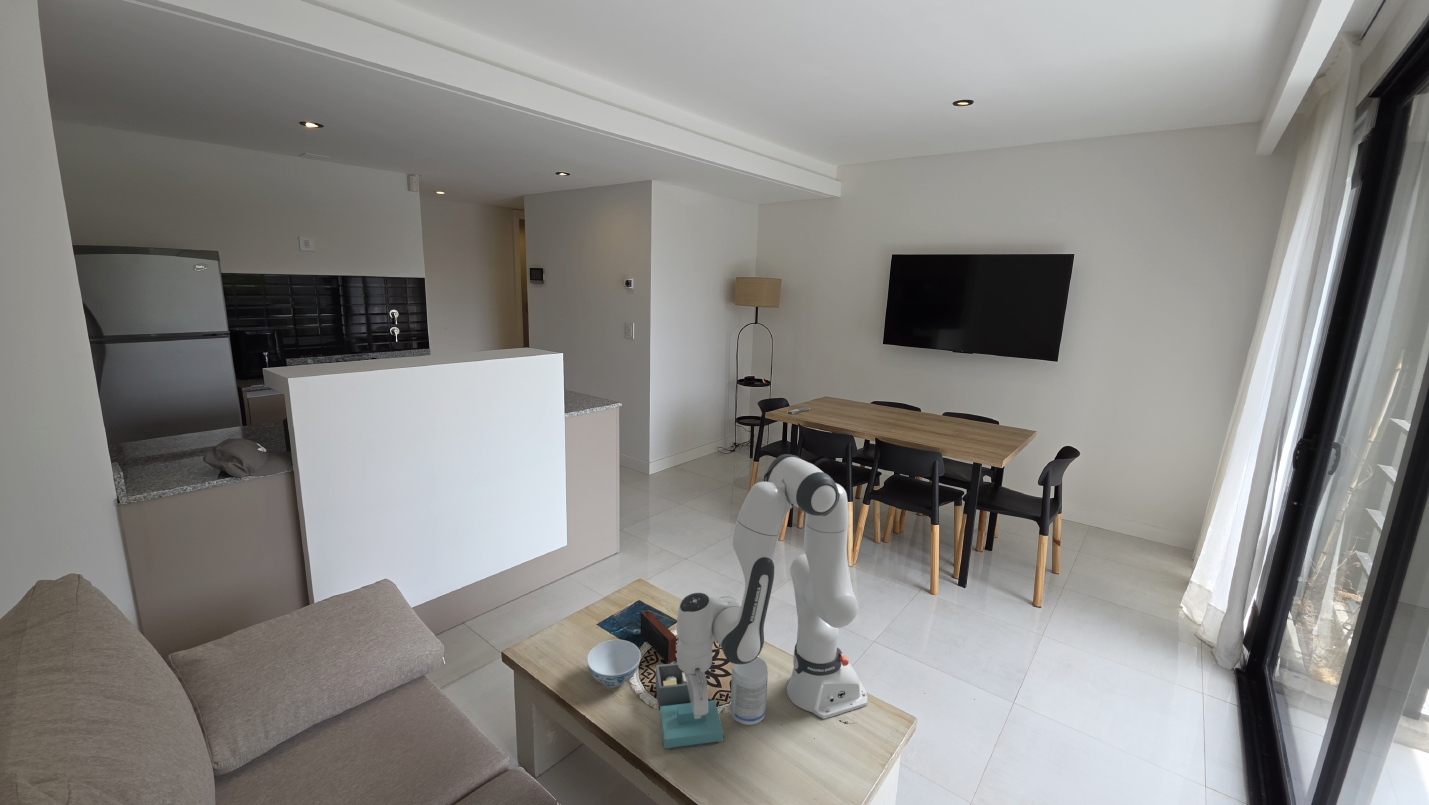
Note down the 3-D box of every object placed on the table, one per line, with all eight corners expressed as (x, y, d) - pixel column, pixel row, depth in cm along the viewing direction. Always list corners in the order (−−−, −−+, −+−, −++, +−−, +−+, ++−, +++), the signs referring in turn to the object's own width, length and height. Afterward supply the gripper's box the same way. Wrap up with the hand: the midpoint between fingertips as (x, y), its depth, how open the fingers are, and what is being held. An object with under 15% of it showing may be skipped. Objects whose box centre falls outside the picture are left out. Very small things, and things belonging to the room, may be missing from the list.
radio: (639, 635, 183) (639, 594, 179) (647, 632, 185) (648, 591, 181) (670, 669, 169) (671, 625, 165) (679, 665, 171) (680, 621, 167)
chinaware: (612, 707, 153) (612, 683, 151) (576, 682, 162) (575, 658, 160) (651, 677, 165) (651, 654, 163) (615, 654, 174) (615, 632, 172)
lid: (714, 708, 154) (715, 690, 153) (722, 740, 144) (723, 722, 142) (659, 715, 151) (660, 697, 150) (664, 748, 141) (665, 729, 139)
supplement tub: (772, 717, 152) (776, 671, 149) (743, 732, 147) (746, 684, 143) (750, 694, 160) (753, 649, 156) (722, 707, 155) (725, 661, 151)
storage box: (700, 681, 164) (701, 660, 162) (706, 704, 156) (707, 683, 154) (655, 686, 162) (655, 665, 160) (658, 710, 153) (659, 688, 151)
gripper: (715, 684, 133) (714, 733, 136) (699, 629, 152) (699, 673, 156) (688, 688, 132) (688, 736, 135) (676, 632, 151) (676, 676, 154)
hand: (694, 702), depth 146 cm, fingers open, 8 cm apart
